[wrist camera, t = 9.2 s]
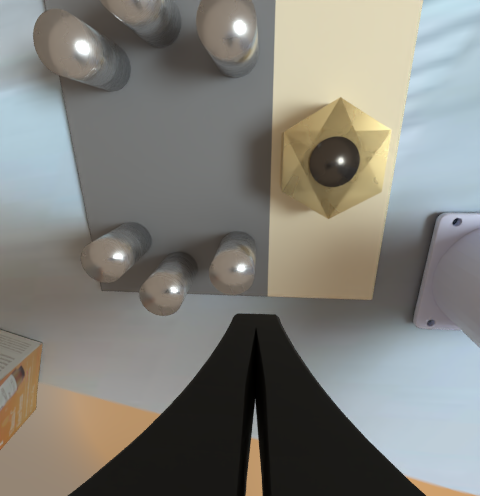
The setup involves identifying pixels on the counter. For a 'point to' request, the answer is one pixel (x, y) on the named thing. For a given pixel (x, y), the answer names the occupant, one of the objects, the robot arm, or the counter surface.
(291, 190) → the brass nut
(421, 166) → the counter surface
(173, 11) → the standing spacers
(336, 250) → the spacer mat
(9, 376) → the small box
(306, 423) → the robot arm
